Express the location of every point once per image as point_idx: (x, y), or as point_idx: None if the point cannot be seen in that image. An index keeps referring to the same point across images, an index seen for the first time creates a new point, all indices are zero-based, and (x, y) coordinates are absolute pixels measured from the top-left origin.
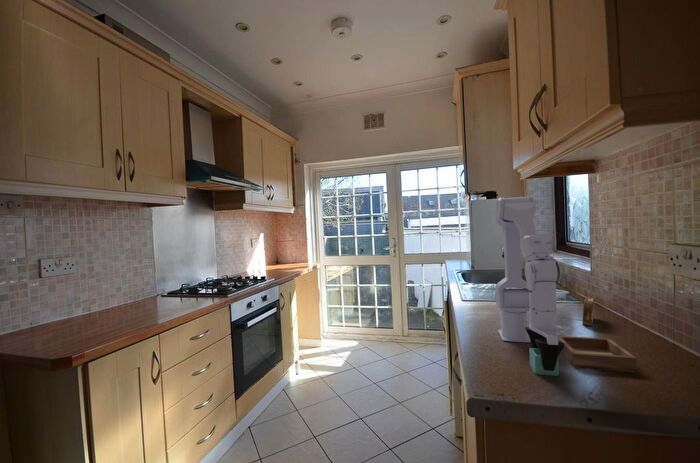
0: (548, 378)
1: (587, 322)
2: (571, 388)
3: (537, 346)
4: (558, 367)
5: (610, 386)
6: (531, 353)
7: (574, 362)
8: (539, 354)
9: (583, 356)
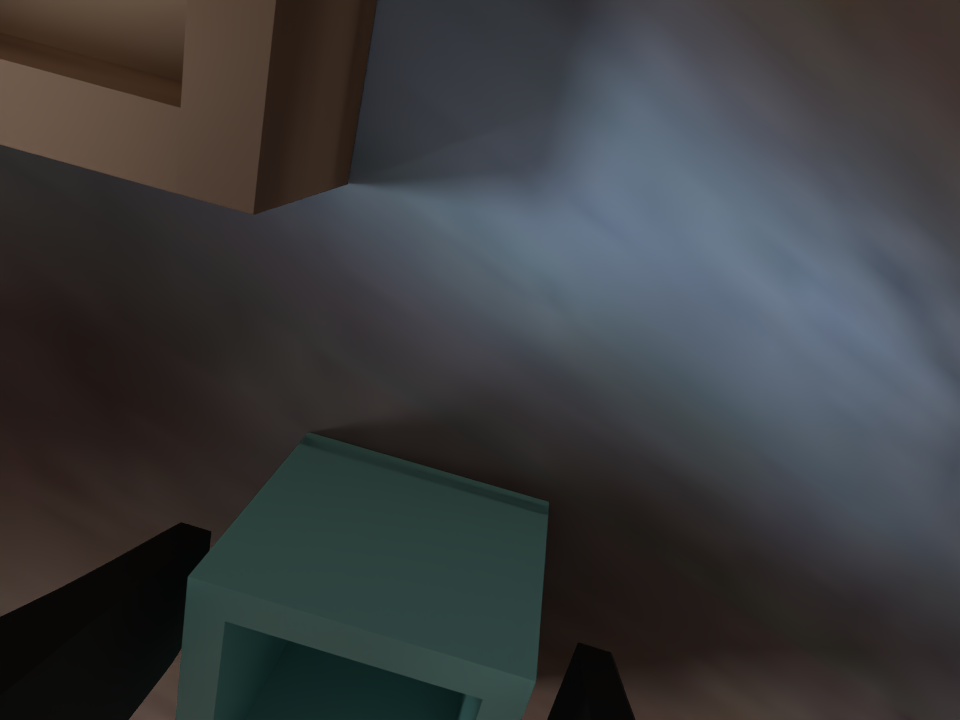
0: (599, 631)
1: None
2: (854, 562)
3: (101, 699)
4: (543, 569)
5: (946, 54)
6: None
7: (318, 190)
8: (252, 667)
9: (292, 42)
